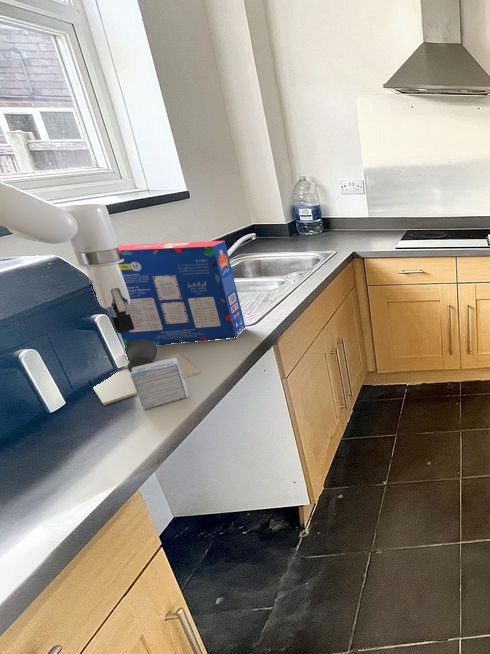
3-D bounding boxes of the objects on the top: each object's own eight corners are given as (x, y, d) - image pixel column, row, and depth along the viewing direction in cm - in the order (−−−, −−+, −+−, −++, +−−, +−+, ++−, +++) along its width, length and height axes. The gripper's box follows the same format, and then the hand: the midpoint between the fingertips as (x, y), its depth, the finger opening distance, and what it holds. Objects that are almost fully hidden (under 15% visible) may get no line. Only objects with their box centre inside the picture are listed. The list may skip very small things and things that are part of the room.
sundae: (160, 376, 104) (158, 354, 114) (158, 351, 102) (156, 331, 113) (124, 381, 99) (125, 358, 110) (121, 355, 98) (123, 334, 108)
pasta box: (245, 328, 130) (224, 240, 121) (236, 339, 123) (213, 246, 114) (142, 337, 124) (111, 245, 115) (125, 348, 117) (91, 251, 108)
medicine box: (187, 389, 96) (176, 356, 93) (188, 397, 93) (177, 363, 90) (143, 402, 92) (130, 367, 89) (142, 411, 88) (130, 375, 85)
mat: (103, 405, 90) (102, 403, 90) (89, 382, 99) (88, 380, 99) (200, 373, 104) (199, 371, 103) (179, 355, 113) (179, 353, 113)
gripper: (71, 255, 97) (98, 328, 103) (83, 265, 88) (112, 343, 94) (114, 250, 102) (137, 319, 108) (129, 258, 94) (153, 333, 100)
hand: (125, 330), depth 101 cm, fingers closed
